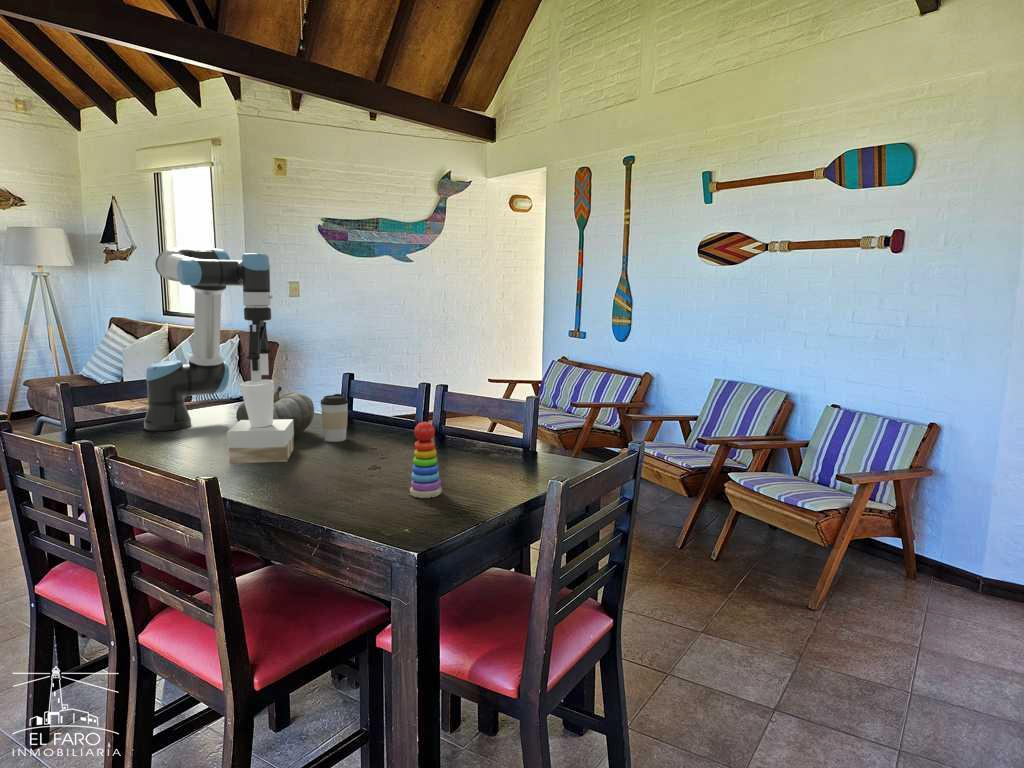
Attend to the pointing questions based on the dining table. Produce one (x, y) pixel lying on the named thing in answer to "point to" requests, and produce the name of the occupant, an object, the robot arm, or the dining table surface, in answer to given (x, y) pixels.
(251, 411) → the foam cup
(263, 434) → the white square block
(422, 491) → the stacking toy
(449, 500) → the dining table surface
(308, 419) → the gourd
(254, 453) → the birch base block
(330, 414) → the coffee cup
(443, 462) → the dining table surface
